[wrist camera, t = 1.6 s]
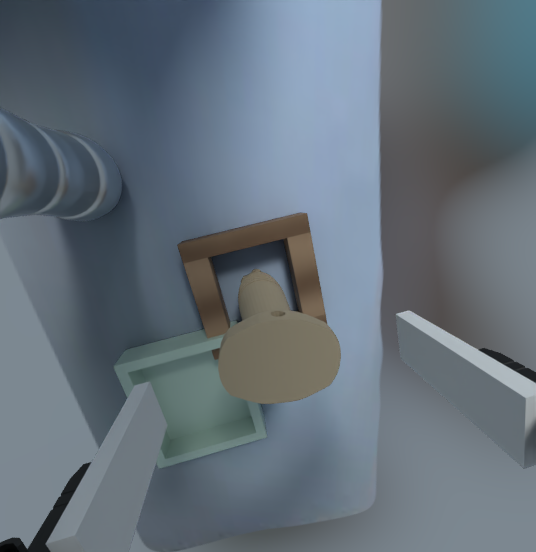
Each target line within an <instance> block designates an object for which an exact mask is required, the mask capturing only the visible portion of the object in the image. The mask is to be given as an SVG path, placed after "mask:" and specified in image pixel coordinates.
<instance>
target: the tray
mask: <svg viewBox="0 0 536 552" xmlns="http://www.w3.org/2000/svg"><path fill="white" fill-rule="evenodd" d="M237 323H238V322H237V320H236V321H232V322H230V328H231V327H232V326H234V325H236V324H237ZM224 335H225V334H223V335H219V336H215V337H211V338H207V335H206V332H205V329H202V330H198V331H194V332H191V333H187V334H183V335H179V336H176V337H172V338H168V339H164V340H160V341H157V342H153V343H149V344H145V345H142V346H138V347H134V348H130V349H126V350H125V351H124V353H123V354H122V355H121V357H120V358H119V359H118V361H117V362H116V363H115V365H114V366H113V367H114V370H115V372H116V374H117V376H118V379H119V381H120V383H121V385H122V387H123V390H124V392H125V394H126V396H127V398H128V396H129V395H130V393H131V391H132V389H133V388H134V386H135V385H138V384H142V383H146V382H149V381H150V383H151V385H152V388H153V390H154V393H155V395H156V398H157V400H158V403H159V405H160V408H161V410H162V413H163V415H164V418H165V420H166V423H167V429H166V432H165V435H164V438H163V442H162V445H161V448H160V451H159V455H158V458H157V461H156V463H157V466H158V468H159V469H161V468H164V467H168V466H171V465H174V464H178V463H181V462H185V461H188V460H192V459H195V458H198V457H202V456H205V455H209V454H212V453H215V452H219V451H222V450H226V449H229V448H232V447H236V446H239V445H243V444H246V443H249V442H253V441H256V440H260V439H263V438H266V437H267V431H266V425H265V418H264V414H263V410H262V407H261V403H255V402H251V401H247V400H244V399H241V398H237V397H234V396H231V395H230V394H229V393H228V392H227V391H226V389H225V388H224V387H223V385H222V382H221V380H220V376H219V371H218V359H217V360H214V357H213V354H212V351H211V350H213V349H217V348H220V345H221V341H222V339H223V337H224Z"/></svg>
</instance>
